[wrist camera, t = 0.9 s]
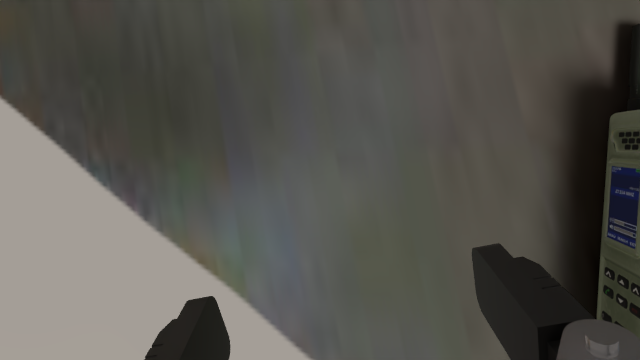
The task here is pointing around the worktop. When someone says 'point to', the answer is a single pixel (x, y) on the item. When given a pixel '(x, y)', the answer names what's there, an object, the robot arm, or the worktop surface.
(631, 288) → the handheld radio
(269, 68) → the worktop surface
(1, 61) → the worktop surface
